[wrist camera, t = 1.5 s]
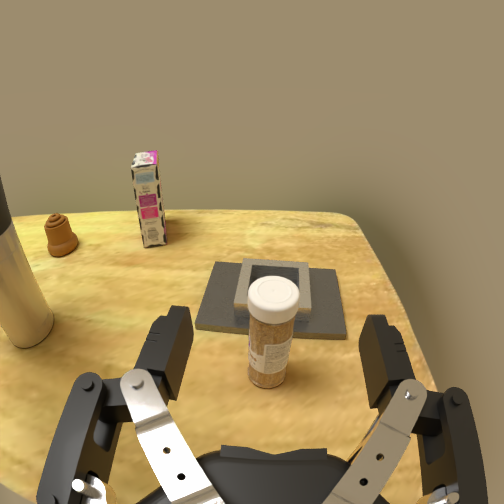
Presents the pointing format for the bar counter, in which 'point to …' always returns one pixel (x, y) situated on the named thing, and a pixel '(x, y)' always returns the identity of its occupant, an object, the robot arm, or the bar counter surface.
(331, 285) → the collar socket
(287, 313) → the sprinkles bottle
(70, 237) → the ornamental finial
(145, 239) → the candy bar box
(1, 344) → the bar counter surface
